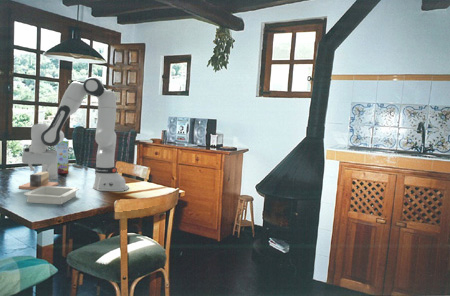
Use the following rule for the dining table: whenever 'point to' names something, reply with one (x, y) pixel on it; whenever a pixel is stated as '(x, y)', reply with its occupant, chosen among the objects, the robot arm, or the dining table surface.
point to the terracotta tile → (27, 186)
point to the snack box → (62, 156)
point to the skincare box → (51, 170)
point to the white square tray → (51, 194)
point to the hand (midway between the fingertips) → (40, 171)
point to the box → (39, 179)
